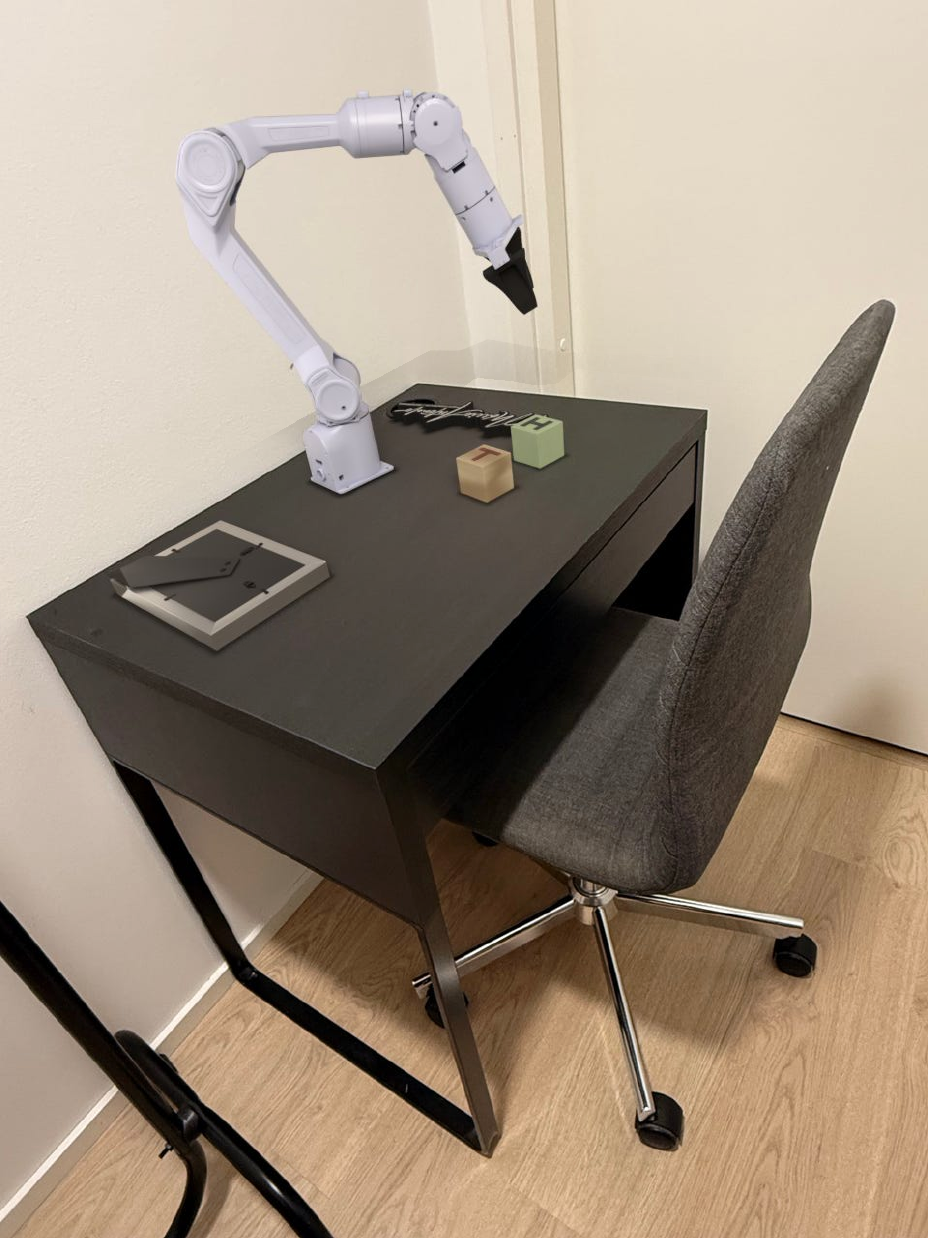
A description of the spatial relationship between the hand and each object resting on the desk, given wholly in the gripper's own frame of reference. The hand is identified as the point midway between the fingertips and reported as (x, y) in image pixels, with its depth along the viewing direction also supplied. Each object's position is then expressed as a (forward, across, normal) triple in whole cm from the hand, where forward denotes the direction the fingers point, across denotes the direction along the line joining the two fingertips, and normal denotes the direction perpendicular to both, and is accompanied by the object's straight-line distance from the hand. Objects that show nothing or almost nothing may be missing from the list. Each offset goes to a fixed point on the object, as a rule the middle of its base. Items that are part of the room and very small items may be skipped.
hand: (528, 300), depth 97 cm
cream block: (+14, -15, +15) cm, 25 cm away
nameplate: (+14, +9, +18) cm, 25 cm away
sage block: (+17, -7, +8) cm, 20 cm away
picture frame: (0, -32, +43) cm, 54 cm away
